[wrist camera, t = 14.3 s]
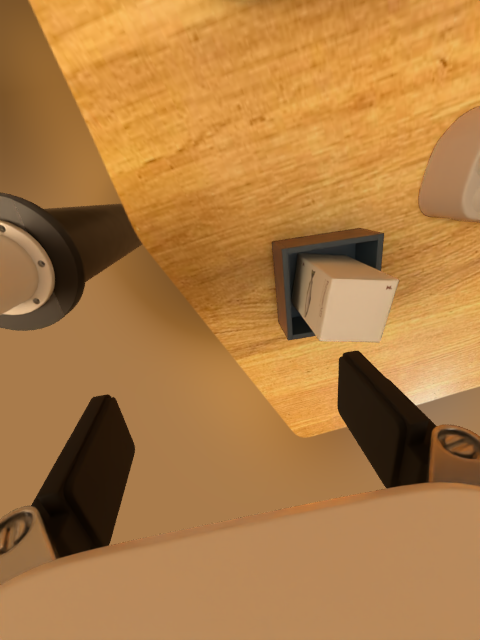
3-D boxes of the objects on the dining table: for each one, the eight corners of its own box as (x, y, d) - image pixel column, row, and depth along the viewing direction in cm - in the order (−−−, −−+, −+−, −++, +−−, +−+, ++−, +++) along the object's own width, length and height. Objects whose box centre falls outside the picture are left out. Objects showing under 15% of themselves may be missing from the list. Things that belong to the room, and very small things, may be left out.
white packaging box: (296, 251, 38) (332, 275, 26) (347, 254, 39) (403, 279, 27) (288, 301, 41) (318, 342, 29) (336, 303, 42) (382, 343, 30)
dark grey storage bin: (278, 322, 43) (288, 340, 37) (271, 241, 37) (281, 249, 32) (355, 309, 43) (376, 326, 38) (359, 227, 38) (384, 233, 32)
